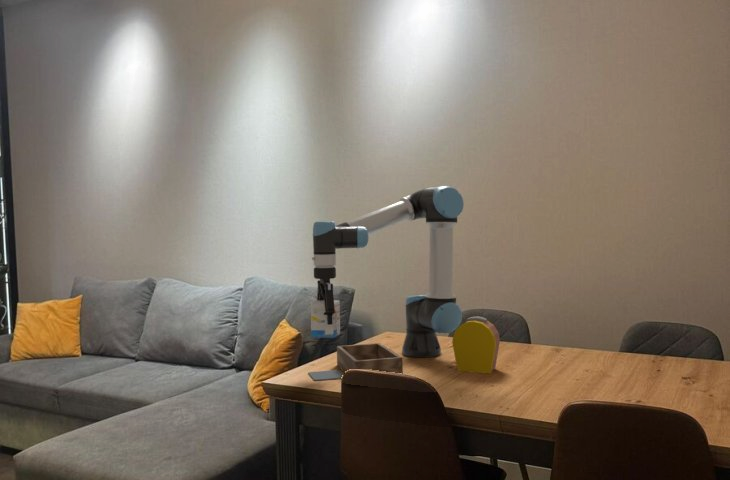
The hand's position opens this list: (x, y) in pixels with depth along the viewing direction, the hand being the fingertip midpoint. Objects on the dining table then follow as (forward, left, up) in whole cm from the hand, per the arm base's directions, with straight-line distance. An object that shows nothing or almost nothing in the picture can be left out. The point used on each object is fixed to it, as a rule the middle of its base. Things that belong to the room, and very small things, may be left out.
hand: (325, 331), depth 219 cm
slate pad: (0, 0, -15) cm, 15 cm away
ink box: (0, 0, -2) cm, 2 cm away
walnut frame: (-15, -1, -15) cm, 22 cm away
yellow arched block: (-52, +9, -16) cm, 55 cm away
